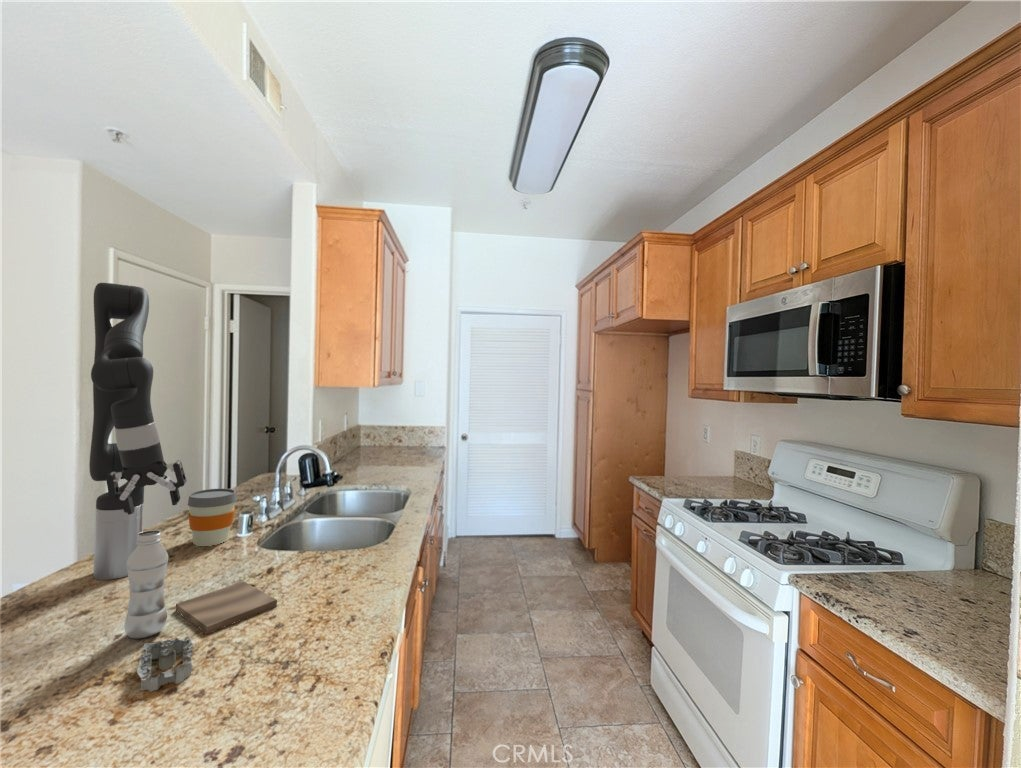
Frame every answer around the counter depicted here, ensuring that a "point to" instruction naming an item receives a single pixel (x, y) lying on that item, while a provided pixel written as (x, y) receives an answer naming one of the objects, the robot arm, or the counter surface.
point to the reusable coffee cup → (211, 515)
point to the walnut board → (225, 606)
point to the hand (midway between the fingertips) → (153, 508)
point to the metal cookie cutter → (165, 662)
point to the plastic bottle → (146, 586)
